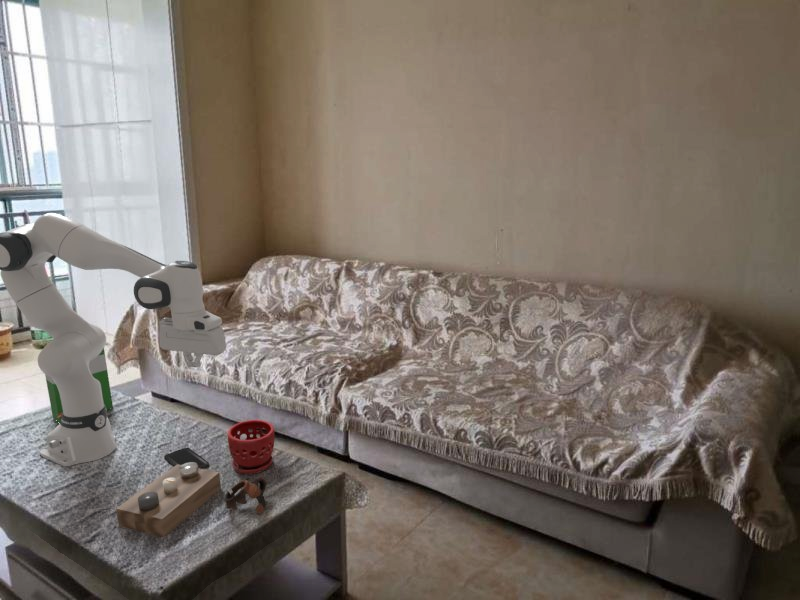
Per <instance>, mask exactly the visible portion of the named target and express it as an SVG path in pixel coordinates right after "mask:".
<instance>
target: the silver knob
mask: <svg viewBox="0 0 800 600" xmlns="http://www.w3.org/2000/svg"><path fill="white" fill-rule="evenodd" d="M198 473H199V472H198V464H197V463H195V462H189V463H185V464H183V465H181V466H180V476H181V478H182V479H191V478H194V477H196V476H197V475H198Z"/></svg>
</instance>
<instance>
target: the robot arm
mask: <svg viewBox="0 0 800 600" xmlns="http://www.w3.org/2000/svg"><path fill="white" fill-rule="evenodd" d="M56 258H58V259H60V260H62V261H63V262H65V263H67V264H69V266H73V267H76V268H78V269H81V270H85V271H95V270H98V271H99V270H119V271H120V270H122V271H125V272H128V273H130V274H133V275H135V276H136V277H138V278H139V279H137V280H136V281H135V283H134V285H133V286H134V287H133V296H134V299H135V300H136V302H137V303H138V304H139V306H140V307H142V308H143V309H146V310H158V309H162V308H169V309H170V312H171V313H170V314H171V317H162V318H161V319H160V320H159V323H158V324H159V325H158V326H159V331H158V333H159V334H158V340H159V347H160V348H161V349H162V351H163V350H165V351H174V352H182V353H183V357H184V358H185V360H186V361H187V366H188V367H189V368H200V367H201V365H202V363H201V360H202V358H203V357H204V356H203V355H209V356H220V355H221V354H223V353H224V352H225V351H226V350H227V344H226V343H227V342H226V336H225V335H226V334H225V331H224V329H223V328H222V327H221V325H222V324H223V319H222V318H221V317H220V316H218V315H215V314H213V313H211V312H209V311H208V310H206V306H205V304H204V299H203V298H204V297H203V295H204V287H203V280H202V275H201V272H200V269H199V267H198V265H197V264H195V263H193V262H192V261H188V260H174V261H173V260H172V261H170V262H168V263H167V264H164V263H162V262H159V261H158V260H156V259H153V258H151V257H149V256H147V255H145V254H143V253H141V252H139V251H137V250H135V249H133V248H130V247H127V246H126V245H123V244H121V243H119V242H117V241H115V240H112V239H110V238H107V237H106V236H105V235H102V234H100V233H98V232H97V231H94V230H93V229H91V228H89V227H88V226H86V225H84V224H82V223H80V222H79V221H76V220H74V219H71V217H70V218H69V217H67V216H65V215H61V214H59V213H56V212H48V213H45V214H42V215H41V216H39V217H38V218H37V219H36V220H35V221H34V222H31V223H26V224H21V225H18V226H15V228H14V227H13V228H12V229H9V230H6V231H4V232H3V231H2V232H0V277H1V280H2V282H3V284H4V287H5V289H6V290H7V292H8V294H9V296H10V298H11V299H12V301H13V302H14V303H15V305H16V306H17V308H18V309H19V311H20V312H21V313H22V314H23V317H25V319H26V321H27V322H28V323H29V325H30V326H32V327H33V328H35V329H38V330H41V331H43V332H45V333H46V334H48V335H49V336H50V337H51V338H52V339H53V340H51V341H49V342H48V343H47V344H46V345H45V346H44V347H43V348H42V349H41V351H40V352H39V354H38V356H37V364H38V365H37V366H38V368H39V369H40V371H41V372H42V373H43V374H44V375H45V374H46V375H47V376H50V377H51V378H52V379H53V380H54V382H55V384H56V386H57V388H58V390H59V394H60V398H61V403H62V409H63V412H62V413H60V414H61V415H60V414H58V415H60V416H58V417H57V418H59V417H61V416H62V417H61V423H60V424H59V423H58V425H57V426H56V427H54V428H52V430H51V431H50V432H49V433H47V437H46V443H47V444H46V446H44V447H43V448H42V449H41V450H40V451H39V453H38V454H39V456H40V455H41V457H42V456H43V457H42V458H44V457H45V459H47V460H49V461H51V462H54V463H56V464H58V465H61V466H63V467H70V466H73V465H77V464H83V463H88V462H93V461H97V460H99V459H102V458H104V457H106V456H109V454H111V453H113V452H114V451H115V449H116V447H117V443H116V441H117V440H116V439H117V437H116V435H115V434H113V430H112V425H111V422H110V420H109V418H108V410H107V409H106V406H105V404H104V402H103V396H102V390H101V384H100V382H99V381H98V380H97V379H95V378H94V377H93V376H92V374H91V372H90V369H89V362H90V361H91V360H93V359H94V358H95V357H97V356H98V355H99V354H100V353H101V351H102V350H103V348H104V349H105V347H106V344H107V335H106V334H105V332H104V331H103V330H102V328H101V327H99V326H97V325H94V324H92V323H89V322H88V321H86V320H85V319H84V318H83V317H82V316H81V315H80V314H78V313H77V312H76V311H75V310H74V309H73V308H72V307H71V305H70V304H69V303H68V302H67V300H66V299H65V298H64V296H63V295H62V294H61V292H60V290H59V289H58V288H57V286H56V285H55V283H54V282H53V281H52V279H51V278H50V277H49V275H48V274H47V272H46V268H45V266H46V264H47V263H52V262H54V261H55V259H56ZM192 353H193V355H192ZM193 356H194V357H195V359H194V357H193Z"/></svg>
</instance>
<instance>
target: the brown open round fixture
mask: <svg viewBox="0 0 800 600" xmlns="http://www.w3.org/2000/svg"><path fill="white" fill-rule="evenodd" d="M266 487H267V482H266V480H265V478H264V477H262V476H258V477H255V478H254V479H253V480H252V481H250V482H249V481H248V480H247V479H245V480H244V479H243V480H241V481H239V482H237V483H236V484H234V485H233V486H232V487H231V488H230V490H231V491H232V492H231V493H230V492H229V491H228V492H227V493H226V494H225V495H224V498H223V501H224V502H225V503H226V504H225V507H226V509H227V510H231V509H232V510H233V511H236V509H237V508H236V504H239V505H246V504H248V502H247V496H249V498H251V499H253V500H254V499H256V500H257V501H258V505H257V506H256V507H255V508H254V510H255V511H256V512H257V515H259V516H260V515H262V514H263V513H264V511H265V509H266V508H267V505H268V504H267V502H266V500H265V496H264V494H265V491H266ZM239 490H240V491H239Z"/></svg>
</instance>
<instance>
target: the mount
mask: <svg viewBox="0 0 800 600" xmlns="http://www.w3.org/2000/svg"><path fill="white" fill-rule="evenodd" d="M180 466H181V465H179V464H177V465H176V466H174V467H173V466H172V467H171V468H170V469H168V470H167V471H166V472H165V473H163V474H162V475H161V476H159V477H158V478H156V479H155V480H154V481H152V482H150V484H148V485H147V486H145V487H144V488H142V489H141V490H139V491H138V492H136V494H134V495H133V496H131V497H130V498H128V499H127V500H126V501H124V502H123V503H121V504H120V505H119V506H118V507H116V508H115V511H116V515H117V516H116V518H117V524H118V527H121V528H125V529H127V530H132V531H137V532H139V533H140V532H141V533H144V534H148V535H152V536H157V537H161V538H167V536H168V535H170V533H172V532H173V531H174V530H175V529H176V528H178V526H180V525H181V524H182V523H184V521H185V520H187V519H188V518H189V517H190V516H191V515H192V514H194V513H195V512H196V511H197V510H198V509H199V508H201V507H202V506H203V505H204V504H205V503H206V502H207V501H209V500H210V499H211V498H212V497H213V496H214V495H215V494H216V493H218V492H219V491H220V490H222V485H221V476H220V475H221V473H220V471H215V470H209V469H206V468H204V469H200V468H198V472H199V473H198V475H197V476H196V477H194V478H191V479H182V478H181V476H180ZM167 478H175V479H176V485H177V489H176V490H175V491H174V492H171V493H165V492H164V489H163V480H165V479H167ZM147 492H156V493H158V498H159V505H158V507H156V508H155V509H153V510H150V511H141V510H140V509H139V504H138V497H139V496H140V495H142V494H144V493H147Z"/></svg>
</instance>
